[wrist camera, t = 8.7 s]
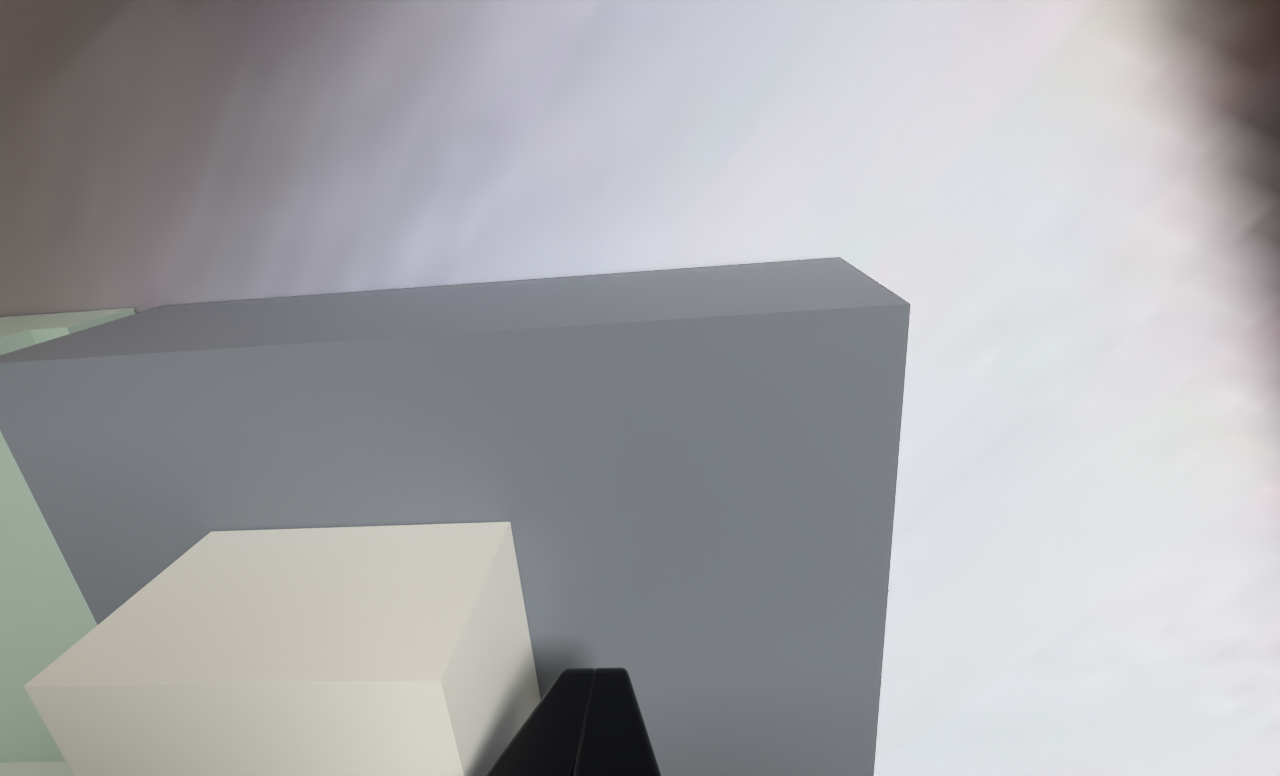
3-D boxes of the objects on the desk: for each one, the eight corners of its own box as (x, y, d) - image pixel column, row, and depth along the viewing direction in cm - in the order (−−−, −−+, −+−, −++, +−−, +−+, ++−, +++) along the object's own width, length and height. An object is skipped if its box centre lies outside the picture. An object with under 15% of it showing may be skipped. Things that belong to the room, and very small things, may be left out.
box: (355, 886, 16) (312, 986, 14) (12, 883, 16) (-74, 978, 14) (132, 307, 10) (12, 343, 8) (-364, 343, 11) (-576, 383, 9)
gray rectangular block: (817, 889, 15) (850, 1063, 12) (374, 886, 16) (308, 1047, 13) (839, 258, 9) (909, 304, 7) (160, 305, 10) (-34, 365, 7)
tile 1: (549, 750, 9) (506, 953, 7) (293, 751, 10) (170, 946, 7) (510, 521, 8) (440, 681, 5) (210, 532, 8) (23, 686, 6)
